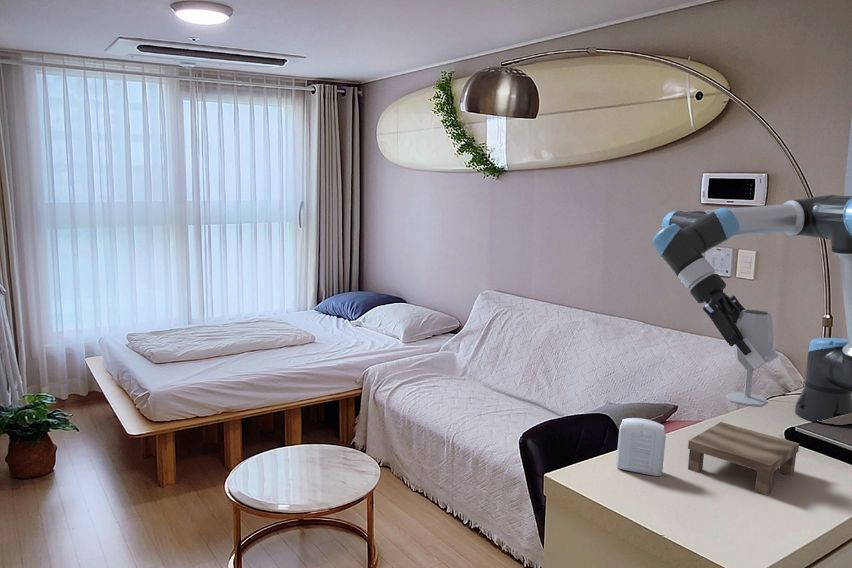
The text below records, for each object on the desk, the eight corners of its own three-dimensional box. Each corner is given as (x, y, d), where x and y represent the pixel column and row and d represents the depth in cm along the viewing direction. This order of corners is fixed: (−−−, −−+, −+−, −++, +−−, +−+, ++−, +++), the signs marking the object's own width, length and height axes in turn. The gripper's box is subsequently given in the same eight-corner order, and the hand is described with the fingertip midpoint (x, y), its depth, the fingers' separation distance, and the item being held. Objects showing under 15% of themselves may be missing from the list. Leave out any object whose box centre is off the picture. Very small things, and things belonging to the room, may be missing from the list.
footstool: (718, 448, 168) (720, 421, 167) (795, 471, 155) (799, 443, 154) (686, 469, 156) (688, 440, 155) (767, 496, 143) (771, 465, 142)
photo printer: (663, 471, 155) (667, 420, 153) (661, 478, 151) (666, 426, 149) (617, 462, 158) (621, 412, 156) (615, 469, 155) (618, 418, 153)
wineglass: (724, 403, 152) (733, 313, 148) (727, 393, 159) (736, 306, 156) (767, 410, 147) (777, 317, 144) (768, 399, 155) (778, 311, 152)
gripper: (709, 286, 167) (770, 363, 159) (670, 295, 153) (735, 380, 144) (732, 268, 163) (797, 345, 154) (695, 275, 149) (763, 361, 140)
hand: (767, 362), depth 149 cm, fingers closed on wineglass, 8 cm apart
